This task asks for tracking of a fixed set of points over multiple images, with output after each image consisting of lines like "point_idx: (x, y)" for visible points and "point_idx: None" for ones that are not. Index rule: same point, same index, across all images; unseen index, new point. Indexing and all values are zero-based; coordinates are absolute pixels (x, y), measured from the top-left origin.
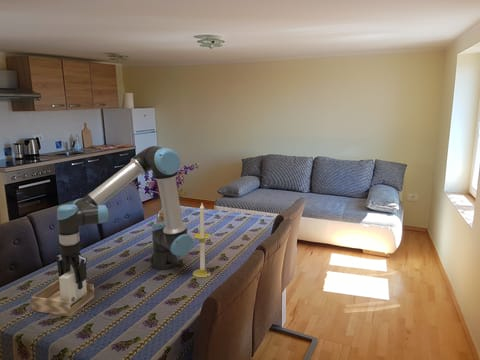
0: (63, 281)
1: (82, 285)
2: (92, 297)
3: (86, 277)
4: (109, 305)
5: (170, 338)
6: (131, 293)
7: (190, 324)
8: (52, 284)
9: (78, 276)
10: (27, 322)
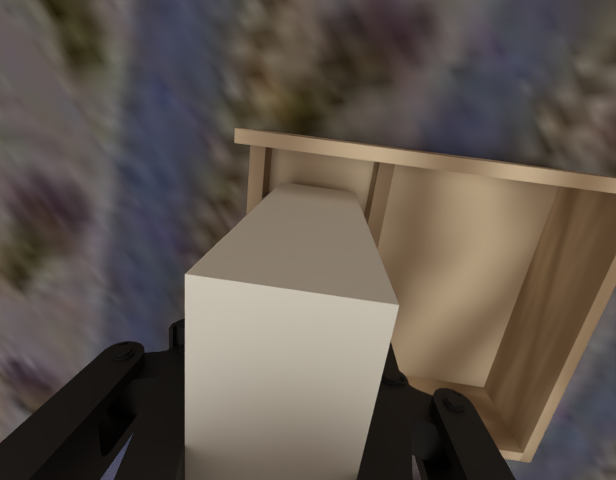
0: (299, 259)
1: None
2: None
3: (102, 416)
4: (111, 275)
5: None
6: None
7: None
8: (545, 399)
9: (150, 407)
10: (525, 11)
